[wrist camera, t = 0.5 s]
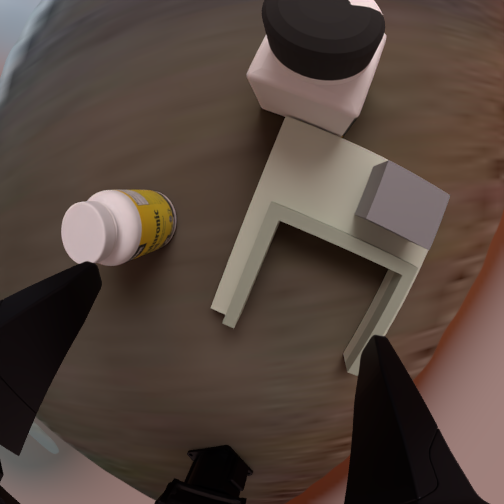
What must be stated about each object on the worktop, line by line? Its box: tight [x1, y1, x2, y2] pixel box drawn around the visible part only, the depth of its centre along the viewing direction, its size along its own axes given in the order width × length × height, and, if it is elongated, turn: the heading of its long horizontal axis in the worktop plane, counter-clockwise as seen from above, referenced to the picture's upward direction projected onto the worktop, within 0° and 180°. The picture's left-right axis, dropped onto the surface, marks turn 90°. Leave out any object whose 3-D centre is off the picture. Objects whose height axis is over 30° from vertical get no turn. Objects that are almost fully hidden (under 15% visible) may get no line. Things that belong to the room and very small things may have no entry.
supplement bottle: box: [61, 190, 176, 266], centre depth 20 cm, size 5×5×10 cm
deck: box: [211, 116, 450, 376], centre depth 20 cm, size 16×14×6 cm
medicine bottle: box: [247, 0, 386, 138], centre depth 15 cm, size 7×7×12 cm
